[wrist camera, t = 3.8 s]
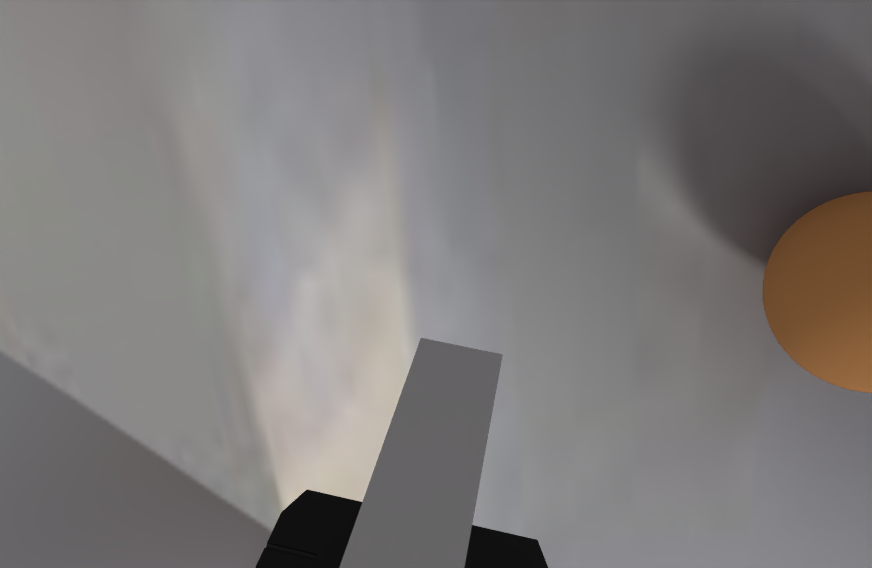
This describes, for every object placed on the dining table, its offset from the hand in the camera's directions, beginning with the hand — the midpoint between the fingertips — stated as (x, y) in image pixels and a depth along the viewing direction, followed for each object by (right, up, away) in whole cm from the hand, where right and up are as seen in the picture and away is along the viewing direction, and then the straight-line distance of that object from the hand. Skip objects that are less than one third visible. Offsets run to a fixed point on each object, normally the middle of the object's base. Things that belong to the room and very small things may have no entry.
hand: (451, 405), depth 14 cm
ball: (+12, +2, +6) cm, 14 cm away
